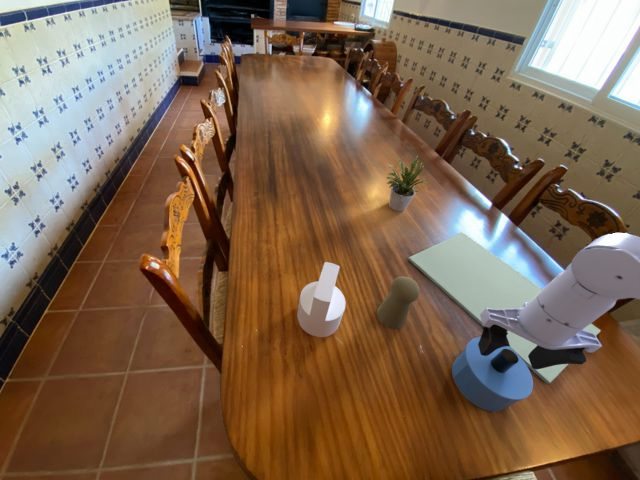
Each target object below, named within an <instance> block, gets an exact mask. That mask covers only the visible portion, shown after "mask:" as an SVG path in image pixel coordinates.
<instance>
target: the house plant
mask: <svg viewBox="0 0 640 480" xmlns="http://www.w3.org/2000/svg"><path fill="white" fill-rule="evenodd" d="M392 155H393V156H394V157H395V158H396V159H397V161H398V163H399V167H400V170H399V169H398V167H397V166H395V165H394V164H389V163H386V165H387V166H389V168H390V169H391V170H392V172H390V173H387V175H388V176H386V177H385V180H388V182H386V185H387V184H388V185H390V186H389V187H388V188H389V189H390V193H389V201H388V207H389V208H390V209H391V210H393V211H395V212H404V211H405V210H406V209H407V207H408V206H409V205H410V203H411V201H412V200H413V198H414V197H415V195H419V191H418V190H415V188H416V185H419V184H424V183H425V184H429V182H428V181H427V179H426V178H425V177H427V176H429V175H431V173H430V174H426V175H424V176H422V177H420V178H418V179H416V178H417V177H418V176H419V175H420V174H421V172H422V171H423V169H424V167H425V164H423V162H422V161H421V159H420V160H418V159H419V154H417V155H416V156H415V157H414V159H413V161H412V163H411V165H410V166H409V168H408V166H407V165H404V163H403V161H402V160H401V159H400V158H399V157H398V156H397V155H395V154H393V153H392ZM420 162H421V163H420ZM419 163H420V164H419ZM417 166H418V167H417ZM416 167H417V168H416ZM415 169H416V170H415ZM414 170H415V171H414ZM413 172H414V173H413ZM392 176H393V177H392ZM400 176H401V177H400ZM422 179H424V180H422Z"/></svg>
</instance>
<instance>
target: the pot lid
mask: <svg viewBox="0 0 640 480" xmlns="http://www.w3.org/2000/svg"><path fill="white" fill-rule="evenodd" d="M480 338H481V336H479V337H478V336H477V337H475V338H472V339H470V340H469V341H468V342H467V344H466V346H465V348H464V349H465V359H466V363H467V365H468V367H469V369H470V371H471V373H472V374H473V376H474V377H475V378H476V379H477V380H478V382H479V383H480V384H481V385H483V386H484V387H485V388H486V389H487V390H489V391H490V392H492V393H493V394H495V395H497V396H499V397H501V398H504V399H507V400H513V401H517V402H519V401H523V400H525V399H527V398H528V397H529V396H530V395H531V394H532V391H533V389H534V380H533V375H532V373H531V371H530V368H529V367H528V366H527V365H526V364H525V362H524V361H523V360H522V359H521V357H520V356H519V355H518V354H517V353H516V352H514V351H513V350H512V349H511V348H509V347H508V346H505V347H501V348H498V349H496V350H495V351H494V352H492V353H491V354H490V355H488V356H483V355H481V353H480V350H479V346H478V343H479V341H480Z"/></svg>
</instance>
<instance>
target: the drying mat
mask: <svg viewBox="0 0 640 480" xmlns="http://www.w3.org/2000/svg"><path fill="white" fill-rule="evenodd" d="M407 260H408V261H409V262H410V263H411V264H412V265H413V266H415V267H416V269H418V270H419V271H420V272H422V273H423V274H424V275H425V276H426V277H427V278H428V279H429V280H430V281H431V282H432V283H434V284H435V285H436V286H437V287H438V288H439V289H441V290H442V292H444V293H445V294H446V295H447V296H448V297H449V298H450V299H451V300H452V301H454V302H455V303H456V304H457V305H458V306H459V307H461V309H463V310H464V311H465V312H466V313H467V314H468V315H469V316H470V317H472V318H473V320H474V321H476V322H477V323H478V324H479V325H481V326H482V327H483V324H482V321H481V317H480V314H481V313H482V312H483V311H484V310H485V308H489V309H512V308H523V304H524V303H525V302H528V303H530V302H531V301H532V300H533V299H534V298H535V297H536V296H537V295H538V294H539V293H540V292H541V291H542V290H543V289H544V288H542V287H541V286H539V285H538V284H536V283H534V282H533V281H532V280H531V279H529V278H528V277H526V276H525V275H524V274H522V273H521V272H519V271H518V270H516V269H515V268H513V267H512V266H511V265H509V264H508V263H506V262H505V261H504V260H502V259H501V258H499V257H498V256H496V255H495V254H494V253H492V252H491V251H490V250H488V249H487V248H485V247H484V246H482V245H481V244H480V243H478V242H477V241H475V240H474V239H473V238H471V237H470V236H468V235H467V234H465V233H464V232H463V231H462V232H459V233H457V234H455V235H453V236H451V237H449V238H447V239H445V240H442V241H441V242H438V243H436V244H434V245H432V246H430V247H428V248H425V249H424V250H421V251H419V252H417V253H415V254H413V255H410V256H409V257H408V258H407ZM583 330H584V331H587V332H591V333H594V334H595V335H596V337H597V336H598V335H599V334H600V333H601V331H602V330H601V329H600V328H598V327H597V326H595V324H593V323H591V324H589V325H588V326H587V327H585V328H584V329H583ZM507 333H508V334H507V335H506V336H507V339H508V341H509V344H510V346H508V347H509V348H511V349H512V350H513V351H514V352H516V353H517V354H518V355H519V356H520V357H521V359H522V360H523V361H524V362H525V364H526V365H527V367H528V369H529V370H531V371H532V372H533V373H534V374H535V375H536V376H538V377H539V379H541V380H542V381H543V382H544V383H545V384H547V385H549V384H551V383H552V382H553V381H554V380H555V379H556V378H557V377H558V376H559V375H560V374H561V373H562V371H563V370H565V369H566V367H568V365H569V364H561V365H554V366H550V367H546V368H542V369H533V368H532V366H531V363H530V360H529V358H528V355H529V354H530V352H531V351H532V350H533V349H534V348H535V347H536V346H537V345H536V344H534V343H532V342H530V341H528V340H526V339H524V338H522V337H520V336H518V335H516V334H514V333H512V332H510V331H507Z"/></svg>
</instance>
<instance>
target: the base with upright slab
mask: <svg viewBox="0 0 640 480" xmlns="http://www.w3.org/2000/svg"><path fill="white" fill-rule="evenodd" d="M339 272H340V265H338V264H336V263H333V262H327V261H324V263H323V266H322V269H321V272H320V276H319V278H318V281H313V282H310V283H307V284H306V285H305V286H304V287H303V288H302V290H301V292H300V296H299V300H298V307H297V312H296V313H297V314H296V317H297V322H298V325H299V326H300V328H301V329H302V330H303V331H304V332H305V333H307V334H309V335H310V336H312V337H317V338H326V337H330V336H332V335H334V334H335V333H336V332H337V330H338V329H339V328H340V325H341V321H342V319H343V316H344V312H345V310H346V302H347V301H346V298H345V295H344V293H343V292H342V291H341V289H340V288H338V287H337V286H336V283H337V279H338V275H339Z"/></svg>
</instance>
